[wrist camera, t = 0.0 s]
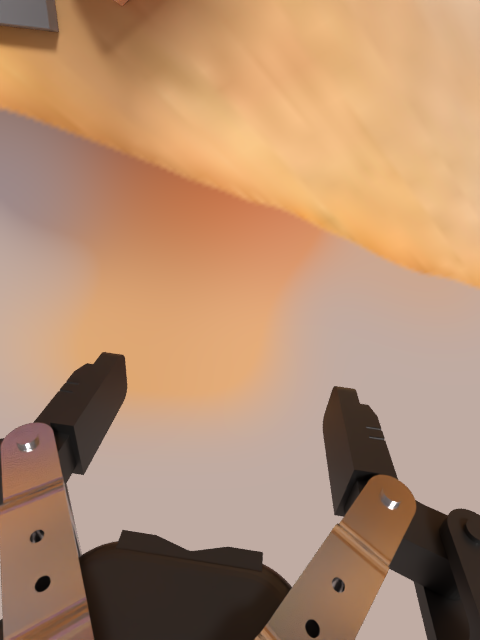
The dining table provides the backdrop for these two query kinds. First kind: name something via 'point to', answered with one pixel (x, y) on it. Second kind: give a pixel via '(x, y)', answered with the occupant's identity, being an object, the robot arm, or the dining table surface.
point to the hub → (121, 2)
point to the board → (29, 14)
